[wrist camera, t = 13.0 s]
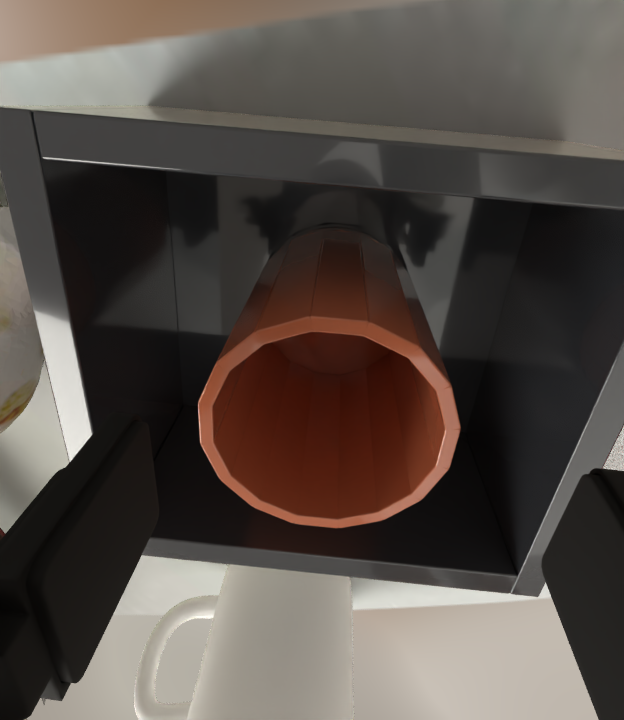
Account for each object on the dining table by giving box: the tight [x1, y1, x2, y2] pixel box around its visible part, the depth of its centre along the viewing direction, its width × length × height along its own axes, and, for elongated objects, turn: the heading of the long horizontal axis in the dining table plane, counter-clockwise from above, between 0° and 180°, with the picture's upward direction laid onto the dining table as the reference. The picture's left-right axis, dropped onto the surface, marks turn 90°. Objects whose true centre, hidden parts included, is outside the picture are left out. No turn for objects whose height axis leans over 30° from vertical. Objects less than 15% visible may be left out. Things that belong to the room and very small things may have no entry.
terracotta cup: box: [198, 228, 461, 528], centre depth 16 cm, size 7×7×9 cm
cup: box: [134, 564, 354, 720], centre depth 26 cm, size 8×12×10 cm
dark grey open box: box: [0, 106, 624, 597], centre depth 17 cm, size 16×14×9 cm
